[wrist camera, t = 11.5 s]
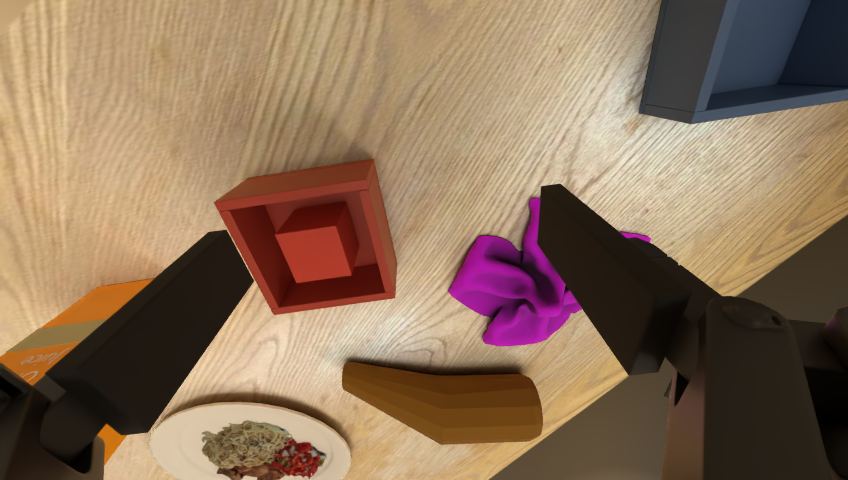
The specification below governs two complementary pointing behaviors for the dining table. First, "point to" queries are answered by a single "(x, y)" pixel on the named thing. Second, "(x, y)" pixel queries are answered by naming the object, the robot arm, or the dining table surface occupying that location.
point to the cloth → (516, 288)
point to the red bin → (284, 192)
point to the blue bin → (745, 58)
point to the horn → (451, 403)
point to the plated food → (248, 444)
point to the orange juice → (71, 340)
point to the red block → (319, 242)
